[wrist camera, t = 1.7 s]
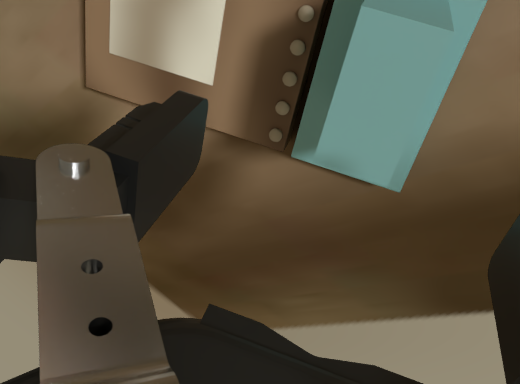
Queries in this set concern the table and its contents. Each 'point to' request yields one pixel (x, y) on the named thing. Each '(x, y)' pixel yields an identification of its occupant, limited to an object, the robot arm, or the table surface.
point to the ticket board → (208, 57)
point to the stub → (381, 84)
